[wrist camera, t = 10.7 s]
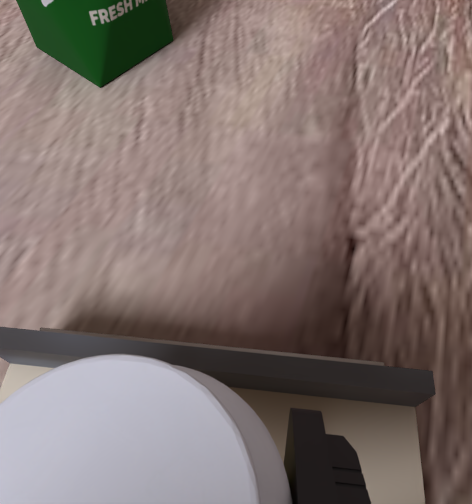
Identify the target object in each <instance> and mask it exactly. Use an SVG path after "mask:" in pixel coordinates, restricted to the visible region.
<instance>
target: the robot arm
mask: <svg viewBox="0 0 472 504" xmlns="http://www.w3.org/2000/svg"><path fill="white" fill-rule="evenodd" d="M284 467H285V471H286V474H287V478H288V482H289V486H290V491H291V497H292V503H293V504H371V501H370V497H369V494H368V490H367V489H366V483H365V480H364V476H363V474H362V469H361V465H360V462H359V458H358V455H357V452H356V451H355V449H354V448H353V447H352V446H351V445H350V443H349V442H348V441H347V440H346V438H345V437H344V436H341V435H332V434H326V432H325V426H324V421H323V416H322V412H321V411H317V410H308V409H299V408H290V412H289V420H288V429H287V438H286V447H285V456H284Z"/></svg>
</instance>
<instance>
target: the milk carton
mask: <svg viewBox="0 0 472 504" xmlns="http://www.w3.org/2000/svg"><path fill="white" fill-rule="evenodd" d="M16 1H17V3H18V5H19V8H20V10H21V12H22V14H23V17H24V19H25V21H26V23H27V26H28V28H29V30H30V33H31V35H32V37H33V40H34V42H35V44H36V47H37V48H39V49H40V50H42V51H44V52H45V53H47V54H48V55H50V56H51V57H53V58H55V59H56V60H58V61H59V62H61V63H62V64H64V65H65V66H67V67H69V68H70V69H72V70H73V71H75V72H76V73H78V74H80V75H81V76H83V77H84V78H86V79H87V80H89V81H91V82H92V83H94V84H95V85H97V86H98V87H102V86H103V85H105V84H106V83H108V82H110V81H111V80H113V79H114V78H116V77H117V76H119V75H120V74H122V73H124V72H125V71H127V70H128V69H130V68H131V67H133V66H134V65H136V64H137V63H139V62H141V61H142V60H144V59H145V58H147V57H148V56H150V55H151V54H153V53H154V52H156V51H158V50H159V49H161V48H162V47H164V46H165V45H167V44H168V43H170V42H171V41H173V35H172V30H171V25H170V20H169V15H168V10H167V5H166V0H16Z"/></svg>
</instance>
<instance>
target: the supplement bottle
mask: <svg viewBox="0 0 472 504" xmlns="http://www.w3.org/2000/svg"><path fill="white" fill-rule="evenodd" d="M0 504H293V503H292V497H291V491H290V486H289V482H288V478H287V474H286V471H285V467H284V464H283V461H282V459H281V456H280V454H279V451H278V449H277V447H276V445H275V442H274V441H273V439H272V437H271V435H270V433H269V431H268V430H267V428H266V426H265V425H264V423H263V422H262V421H261V419H260V418H259V417H258V415H257V414H256V413H255V412H254V410H253V409H252V408H251V407H250V406H249V405H248V404H247V403H246V402H245V401H244V400H243V399H242V398H241V397H240V396H239V395H238V394H236V393H235V392H234V391H233V390H231V389H230V388H229V387H227V386H226V385H224V384H223V383H221V382H219V381H218V380H216V379H214V378H212V377H211V376H208V375H206V374H204V373H202V372H199V371H196V370H193V369H190V368H186V367H183V366H177V365H171V364H169V363H167V362H164V361H161V360H158V359H155V358H150V357H145V356H139V355H130V354H109V355H98V356H92V357H87V358H83V359H79V360H76V361H73V362H70V363H66V364H63V365H61V366H59V367H56V368H54V369H51V370H49V371H48V372H46V373H44V374H42V375H40V376H38V377H36V378H34V379H33V380H31V381H30V382H28V383H27V384H25V385H24V386H22V387H21V388H19V389H18V390H16V391H15V392H14V393H12V394H11V395H10V396H9V397H8V398H6V399H5V400H4V401H3V402H2V403H0Z"/></svg>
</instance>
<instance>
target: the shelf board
mask: <svg viewBox="0 0 472 504" xmlns="http://www.w3.org/2000/svg"><path fill="white" fill-rule="evenodd" d="M109 354H130V355H139V356H145V357H150V358H155V359H158V360H161V361H164V362H167V363H169V364H171V365H177V366H183V367H186V368H190V369H193V370H196V371H199V372H202V373H204V374H206V375H208V376H211V377H212V378H214V379H216V380H218V381H219V382H221V383H223V384H224V385H226V386H227V387H229V388H230V389H231V390H233V391H234V392H235V393H236V394H238V395H239V396H240V397H241V398H242V399H243V400H244V401H245V402H246V403H247V404H248V405H249V406H250V407H251V408H252V409H253V410H254V412H255V413H256V414H257V415H258V417H259V418H260V419H261V421H262V422H263V423H264V425H265V426H266V428H267V430H268V431H269V433H270V435H271V437H272V439H273V441H274V442H275V445H276V447H277V449H278V451H279V454H280V456H281V459H282V461H283V464H284V456H285V447H286V438H287V429H288V420H289V412H290V408H299V409H308V410H317V411H321V412H322V416H323V421H324V426H325V432H326V434H332V435H341V436H344V437H345V438H346V440H347V441H348V442H349V443H350V445H351V446H352V447H353V448H354V449H355V451H356V452H357V455H358V458H359V462H360V465H361V469H362V474H363V476H364V480H365V483H366V489H367V490H368V494H369V497H370V501H371V504H425V495H424V486H423V476H422V467H421V457H420V448H419V439H418V429H417V420H416V410H415V407H416V406H418V405H419V404H421V403H422V402H424V401H426V400H427V399H429V398H430V397H432V396H434V395H435V386H434V379H433V371H428V370H418V369H409V368H399V367H389V366H384V362H375V361H365V360H355V359H345V358H336V357H326V356H316V355H306V354H296V353H286V352H276V351H267V350H257V349H247V348H237V347H227V346H217V345H208V344H198V343H188V342H178V341H168V340H158V339H149V338H139V337H129V336H119V335H109V334H99V333H89V332H80V331H70V330H60V329H50V328H40V331H37V330H27V329H17V328H7V327H0V357H1V358H3V359H4V360H6V361H7V362H9V363H10V365H9V368H8V370H7V373H6V375H5V378H4V381H3V383H2V386H1V388H0V403H2V402H3V401H4V400H5V399H6V398H8V397H9V396H10V395H11V394H12V393H14V392H15V391H16V390H18V389H19V388H21V387H22V386H24V385H25V384H27V383H28V382H30V381H31V380H33V379H34V378H36V377H38V376H40V375H42V374H44V373H46V372H48V371H49V370H51V369H54V368H56V367H59V366H61V365H63V364H66V363H70V362H73V361H76V360H79V359H83V358H87V357H92V356H98V355H109Z"/></svg>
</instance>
